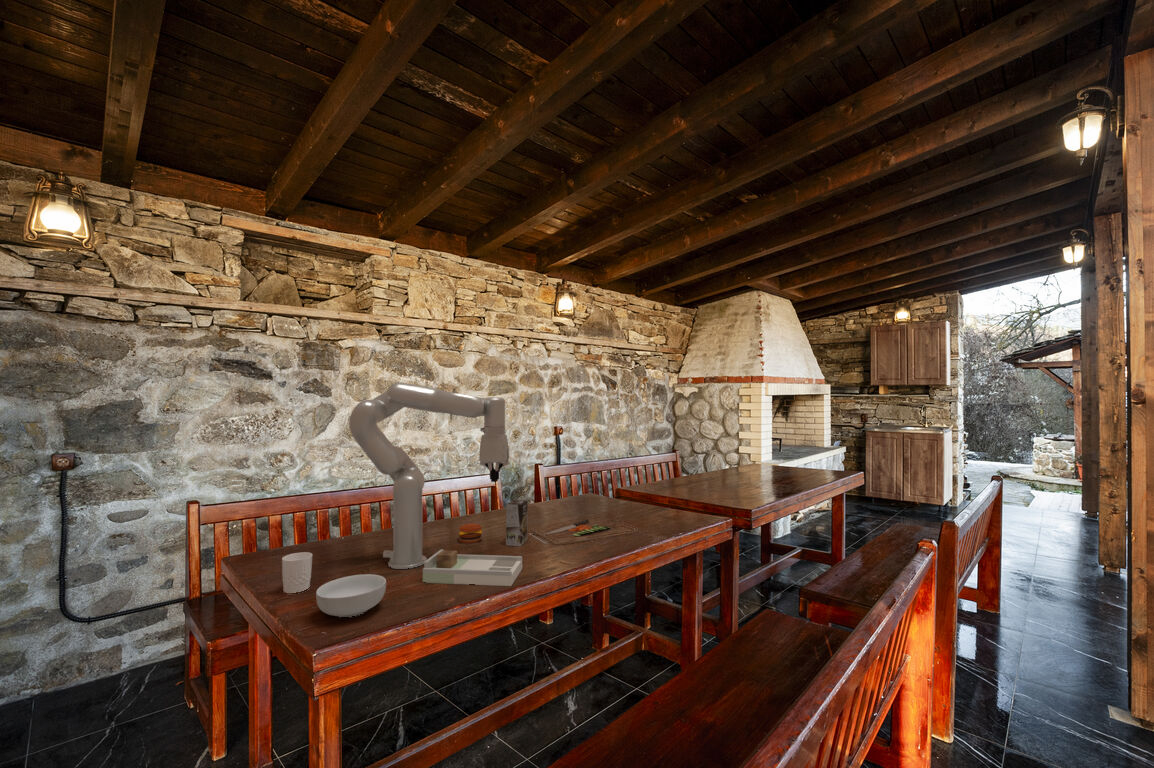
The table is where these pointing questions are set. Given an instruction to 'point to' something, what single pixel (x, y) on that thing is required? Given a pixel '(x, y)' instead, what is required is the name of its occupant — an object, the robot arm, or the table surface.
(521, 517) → the coffee box
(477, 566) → the tray
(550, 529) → the chopping board
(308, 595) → the table surface
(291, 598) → the table surface
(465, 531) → the hamburger
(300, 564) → the white cup
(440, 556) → the walnut block
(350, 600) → the cereal bowl
